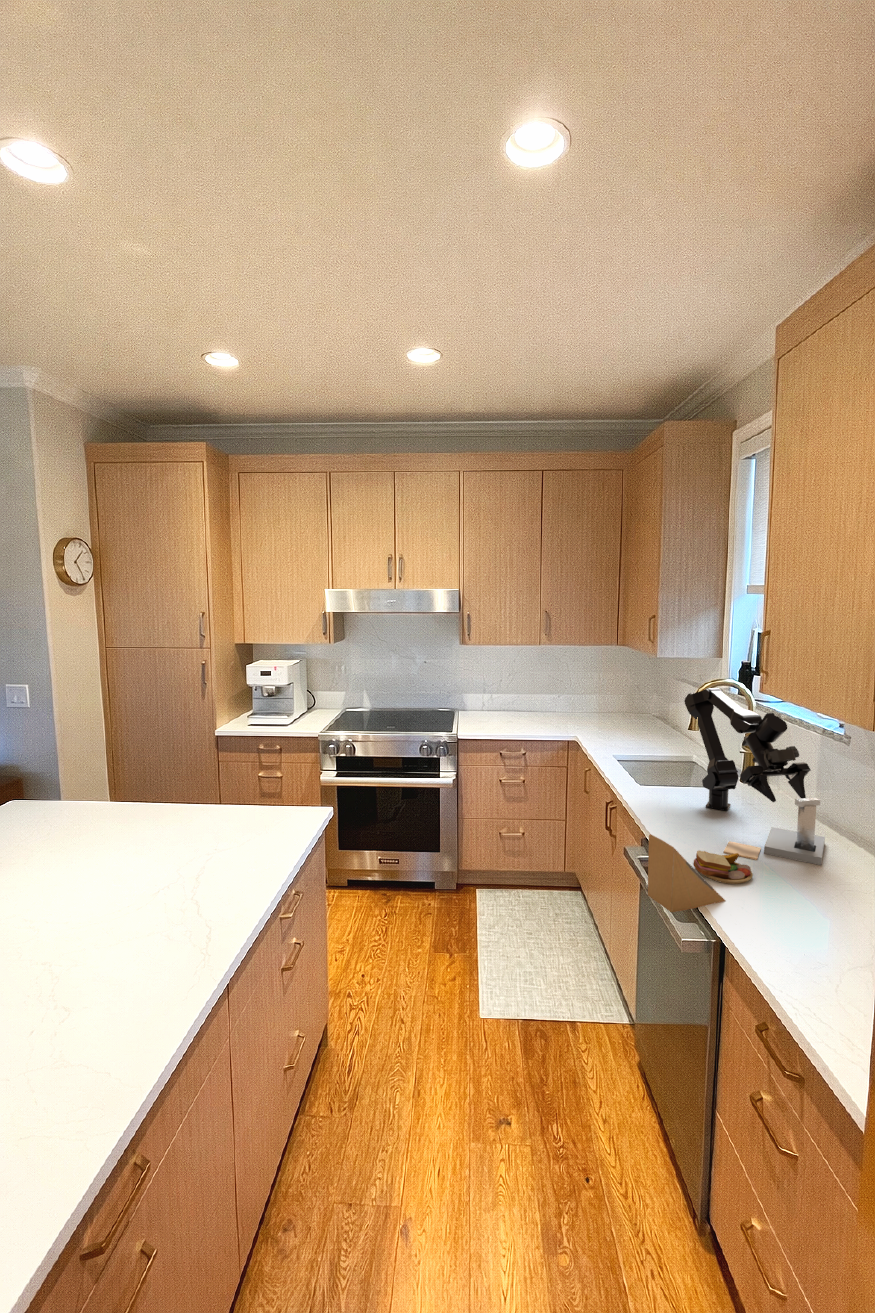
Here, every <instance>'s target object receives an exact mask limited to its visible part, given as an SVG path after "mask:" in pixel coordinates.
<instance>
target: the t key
mask: <svg viewBox="0 0 875 1313" xmlns="http://www.w3.org/2000/svg"><path fill="white" fill-rule="evenodd" d="M794 805H795V806H797V807H798V808H797V826H796V828H797V829H796V832H797V843H796V848H797V849H802V850H807V851H812V852H814V838H815V835H816V819H817V818H816V816H817V807H818V806H821V799H819V798H817V797H806V798H803V799H801V798H795V799H794Z"/></svg>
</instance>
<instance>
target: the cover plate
mask: <svg viewBox="0 0 875 1313" xmlns="http://www.w3.org/2000/svg"><path fill="white" fill-rule="evenodd" d="M825 840H826V837H825V836H822V835H817V834H815V838H814V852H812V851H807V850H802V849H797V848H796V843H797V830H796V831H795V830H790V829H785V828H779V827H775V826H771V828H770V830H769V833H768V836H767V838H766V841H765V844H764V846H763V854H766V855H771V856H775V857H780V858H786V859H789V860H795V861H799V862H804V863H808V864H812V865H813V864H814V865H818V866H822V863H823V855H824V851H825V842H826V841H825Z"/></svg>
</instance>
